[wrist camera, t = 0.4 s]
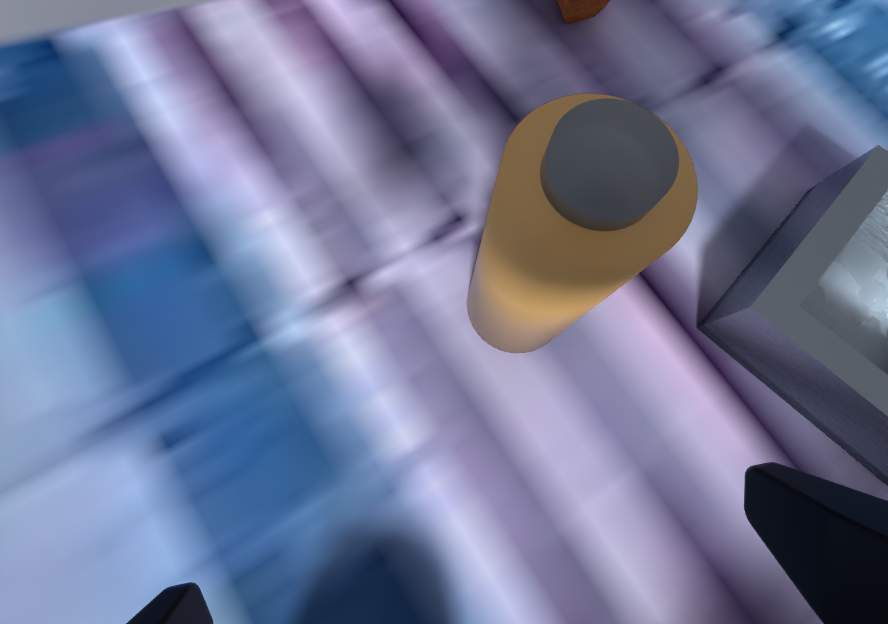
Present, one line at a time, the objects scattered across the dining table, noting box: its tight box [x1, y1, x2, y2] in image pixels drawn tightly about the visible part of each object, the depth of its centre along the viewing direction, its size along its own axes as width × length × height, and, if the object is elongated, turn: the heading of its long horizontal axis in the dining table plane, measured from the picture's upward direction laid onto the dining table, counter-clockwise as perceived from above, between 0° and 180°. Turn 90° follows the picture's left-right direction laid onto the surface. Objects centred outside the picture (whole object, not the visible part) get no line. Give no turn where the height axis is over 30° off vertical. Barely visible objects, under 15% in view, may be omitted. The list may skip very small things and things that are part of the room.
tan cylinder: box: [467, 94, 698, 353], centre depth 17 cm, size 5×5×13 cm
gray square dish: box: [697, 145, 888, 485], centre depth 21 cm, size 11×11×4 cm
